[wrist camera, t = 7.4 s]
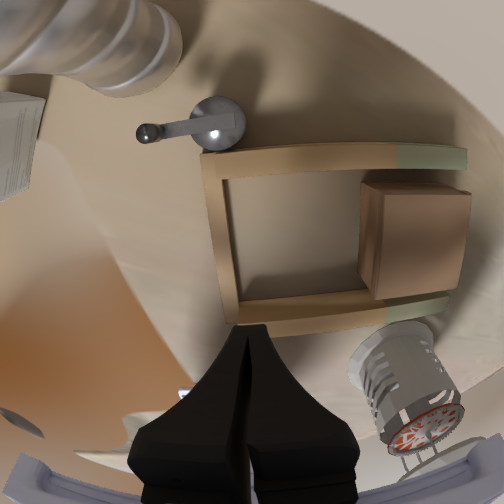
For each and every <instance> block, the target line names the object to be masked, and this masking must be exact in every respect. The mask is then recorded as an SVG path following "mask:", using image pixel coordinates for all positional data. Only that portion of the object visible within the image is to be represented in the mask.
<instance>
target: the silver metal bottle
mask: <svg viewBox="0 0 504 504" xmlns="http://www.w3.org/2000/svg"><path fill="white" fill-rule="evenodd" d="M182 50H183V40H182V35H181V30H180V26H179V24H178V23H177V21H176V19H175V18H174V17H173V16H172V15H171V14H170V13H169V12H167V11H166V10H165V9H163V8H162V7H160V6H158V5H157V4H155V3H152V2H150V1H149V0H0V76H7V75H16V74H27V73H39V74H51V75H61V76H66V77H68V78H71V79H74V80H77V81H79V82H82V83H84V84H86V85H87V86H88V87H90V88H91V89H93V90H95V91H97V92H99V93H101V94H103V95H106V96H110V97H114V98H122V97H130V96H136V95H141V94H144V93H146V92H149V91H151V90H153V89H154V88H156V87H158V86H159V85H160V84H162V83H163V82H164V81H165V80H166V79H167V78H168V77H169V76H170V75H171V74H172V73H173V71H174V70H175V68H176V67H177V65H178V63H179V60H180V58H181V54H182Z"/></svg>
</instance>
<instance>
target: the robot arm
mask: <svg viewBox="0 0 504 504" xmlns="http://www.w3.org/2000/svg"><path fill="white" fill-rule="evenodd" d="M178 393H179V395H180V398H181V400H180V401H179V402H178V403H177V404H175V405H174V406H173V407H172V408H170V409H169V410H168V411H166V412H165V413H164V414H162V415H161V416H160V417H158V418H157V419H155V420H153V421H152V422H150V423H148V424H147V425H145V426H143V427H141V428H139V430H138V432H137V434H136V436H135V438H134V441H133V443H132V446H131V449H130V453H129V456H128V459H127V464H128V466H129V467H130V469H131V470H132V471H133V472H134V474H135V475H136V476H137V477H138V478H139V479H140V480H141V481H142V482H143V483H144V488H143V492H142V496H138V495H132V494H128V493H123V492H118V491H115V490H111V489H107V488H103V487H99V486H96V485H92V484H89V483H86V482H82V481H79V480H76V479H73V478H70V477H67V476H65V475H62V474H59V473H56V472H54V471H51V469H50V468H49V467H48V466H47V465H46V464H45V463H43V462H42V461H40V460H38V459H36V458H34V457H32V456H29V455H27V454H25V453H20V455H19V457H18V459H17V461H16V463H15V465H14V467H13V469H12V471H11V474H10V476H9V478H8V480H7V483H6V485H5V487H4V489H3V494H4V495H6V496H7V497H8V498H10V499H11V500H12V501H14V502H15V503H17V504H490V503H492V502H493V501H494V500H495V499H497V498H498V497H500V496H501V495H502V494H503V493H504V440H503V438H502V436H501V435H500V433H497V434H495V435H494V436H492V437H490V438H488V439H486V440H484V441H482V442H480V443H479V444H477V445H476V446H474V447H473V448H472V449H471V450H470V451H469V453H468V454H467V456H466V457H463V458H461V459H459V460H457V461H455V462H452V463H450V464H448V465H445V466H443V467H440V468H438V469H435V470H433V471H430V472H427V473H425V474H422V475H419V476H416V477H413V478H410V479H407V480H404V481H401V482H398V483H394V484H391V485H387V486H384V487H380V488H376V489H372V490H368V491H364V492H360V493H357V488H356V484H355V480H356V473H355V469H354V468H355V466H356V463H357V461H358V459H359V456H360V449H359V445H358V443H357V441H356V438H355V436H354V434H353V432H352V431H351V429H350V427H349V426H348V424H347V423H346V422H344V421H343V420H341V419H340V418H338V417H337V416H335V415H334V414H332V413H331V412H330V411H328V410H327V409H326V408H325V407H323V406H322V405H321V404H320V403H319V402H317V401H316V400H315V399H314V398H313V397H312V396H311V395H310V394H309V393H308V392H307V391H306V390H305V389H304V388H303V387H302V386H301V385H300V384H299V383H298V381H297V380H296V379H295V378H294V377H293V375H292V374H291V373H290V371H289V370H288V369H287V367H286V366H285V364H284V363H283V361H282V360H281V358H280V356H279V355H278V353H277V351H276V349H275V347H274V345H273V343H272V341H271V339H270V336H269V334H268V330H267V326H266V325H265V324H254V325H239V326H234V327H233V328H232V330H231V332H230V335H229V337H228V339H227V341H226V343H225V344H224V346H223V348H222V350H221V351H220V353H219V355H218V356H217V358H216V359H215V361H214V362H213V364H212V365H211V366H210V368H209V369H208V371H207V372H206V373H205V375H204V376H203V377H202V378H201V380H200V381H199V382H198V383H197V384H196V385H195V386H194V387H193V388H180V389H179V391H178Z"/></svg>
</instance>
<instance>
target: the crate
mask: <svg viewBox="0 0 504 504" xmlns="http://www.w3.org/2000/svg"><path fill="white" fill-rule="evenodd" d="M471 194H472V193H470V192H467V191H460V190H458V189H455V188H452V187H450V186H447V185H445V184H442V183H435V182H361V210H360V236H359V253H358V268H357V272H358V273H359V275H360V276H361V278H362V279H363V281H364V282H365V284H366V285H367V287H368V289H369V290H370V295H371V297H372V298H373V300H381V299H389V298H397V297H404V296H411V295H418V294H425V293H431V292H437V291H444V290H450V289H456V288H457V285H458V281H459V276H460V272H461V267H462V262H463V257H464V252H465V246H466V240H467V234H468V227H469V219H470V211H471V202H472V195H471Z"/></svg>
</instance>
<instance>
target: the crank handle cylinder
mask: <svg viewBox="0 0 504 504" xmlns="http://www.w3.org/2000/svg"><path fill="white" fill-rule="evenodd" d="M246 128H247V121H246V118H245V115H244V113H243V112H242V110H241V108H240V107H239V106H238V105H237V104H236V103H235V102H234V101H232V100H231V99H229V98H226V97H221V96H215V97H209V98H207V99H204V100H203V101H201V102H200V103H198V104H197V105H196V106H195V108H194V109H193V110H192V112H191V115H190V118H189V119H188V120H183V121H177V122H172V123H166V124H161V125H159V124H142V125H140V126H139V127H138V129H137V131H136V138H137V140H138V141H139V142H140V143H143V144H147V143H154V142H159V141H160V140H162V139H167V138H172V137H178V136H184V135H190V134H191V136H192V138H193V139H194V141H195V142H196V143H197V144H198V145H200V146H201V147H203V148H205V149H208V150H213V151H219V150H224V149H227V148H229V147H231V146H233V145H234V144H236V143H237V142H239V141H240V140H241V139H242V137H243V136H244V134H245V132H246Z"/></svg>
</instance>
